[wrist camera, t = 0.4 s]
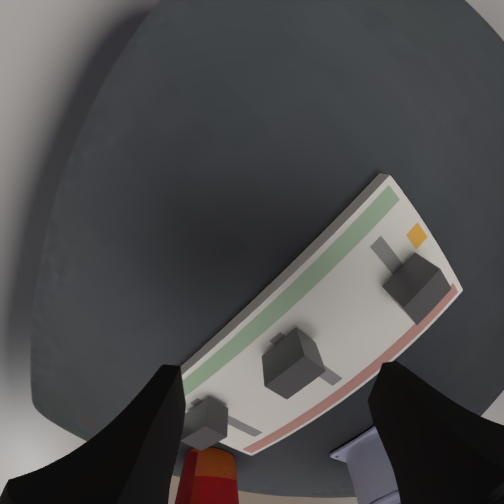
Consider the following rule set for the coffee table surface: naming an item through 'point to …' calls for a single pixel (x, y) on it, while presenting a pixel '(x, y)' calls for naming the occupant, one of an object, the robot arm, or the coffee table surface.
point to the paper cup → (208, 478)
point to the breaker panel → (321, 320)
